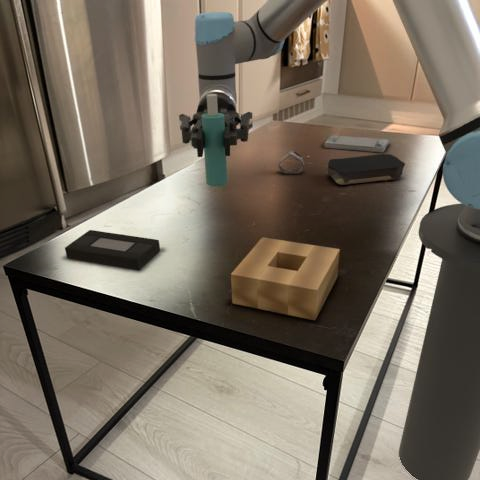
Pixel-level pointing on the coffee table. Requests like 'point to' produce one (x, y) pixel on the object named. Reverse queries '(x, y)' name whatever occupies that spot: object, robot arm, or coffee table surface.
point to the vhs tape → (113, 249)
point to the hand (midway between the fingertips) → (213, 147)
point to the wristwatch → (295, 158)
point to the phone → (356, 143)
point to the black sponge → (365, 169)
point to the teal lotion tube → (214, 144)
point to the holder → (285, 277)
